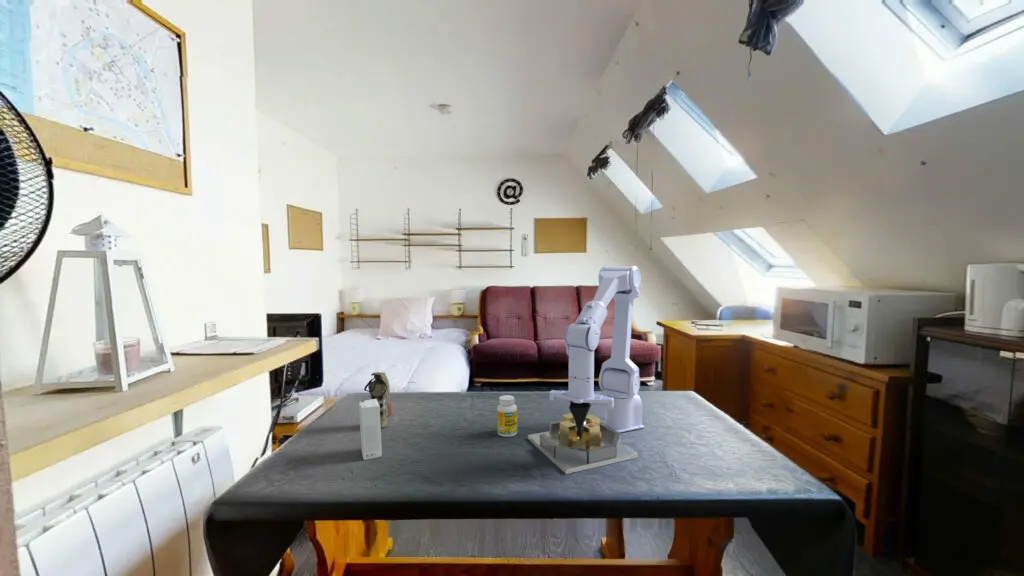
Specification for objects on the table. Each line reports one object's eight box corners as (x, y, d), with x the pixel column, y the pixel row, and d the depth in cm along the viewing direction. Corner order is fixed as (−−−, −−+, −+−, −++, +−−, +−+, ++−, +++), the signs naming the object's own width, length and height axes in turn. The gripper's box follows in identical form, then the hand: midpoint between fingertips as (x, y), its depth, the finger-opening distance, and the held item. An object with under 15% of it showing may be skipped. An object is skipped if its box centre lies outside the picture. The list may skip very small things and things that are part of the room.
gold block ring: (550, 439, 97) (550, 417, 97) (581, 430, 102) (581, 409, 102) (578, 455, 89) (578, 431, 88) (610, 445, 94) (610, 422, 94)
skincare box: (382, 457, 91) (381, 405, 91) (362, 461, 89) (360, 408, 89) (379, 446, 97) (378, 397, 96) (359, 450, 95) (358, 400, 94)
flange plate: (590, 427, 108) (590, 403, 108) (637, 457, 90) (638, 429, 90) (527, 438, 101) (527, 413, 100) (566, 474, 83) (566, 443, 83)
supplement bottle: (510, 427, 108) (510, 393, 108) (521, 434, 104) (521, 398, 103) (493, 432, 105) (493, 396, 105) (504, 439, 101) (503, 402, 100)
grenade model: (360, 431, 106) (359, 376, 105) (378, 421, 112) (377, 370, 112) (380, 434, 104) (378, 378, 103) (397, 425, 110) (396, 372, 109)
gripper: (545, 376, 89) (545, 435, 90) (610, 384, 84) (609, 446, 84) (554, 369, 96) (553, 424, 96) (615, 376, 90) (614, 434, 91)
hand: (580, 434), depth 91 cm, fingers closed, pressing on gold block ring
